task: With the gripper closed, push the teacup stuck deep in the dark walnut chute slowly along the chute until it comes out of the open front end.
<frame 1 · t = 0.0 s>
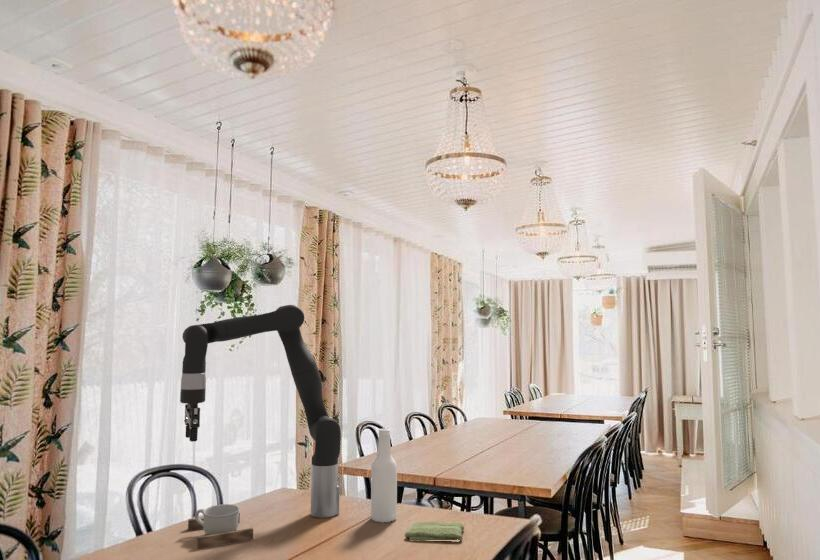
hand: (191, 439, 182), 29 cm above the table, tool pointing down, fingers open, 8 cm apart
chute: (219, 534, 179), on the table
alcohol: (383, 519, 195), on the table
teacup: (216, 535, 179), on the table
washcloth: (435, 537, 179), on the table
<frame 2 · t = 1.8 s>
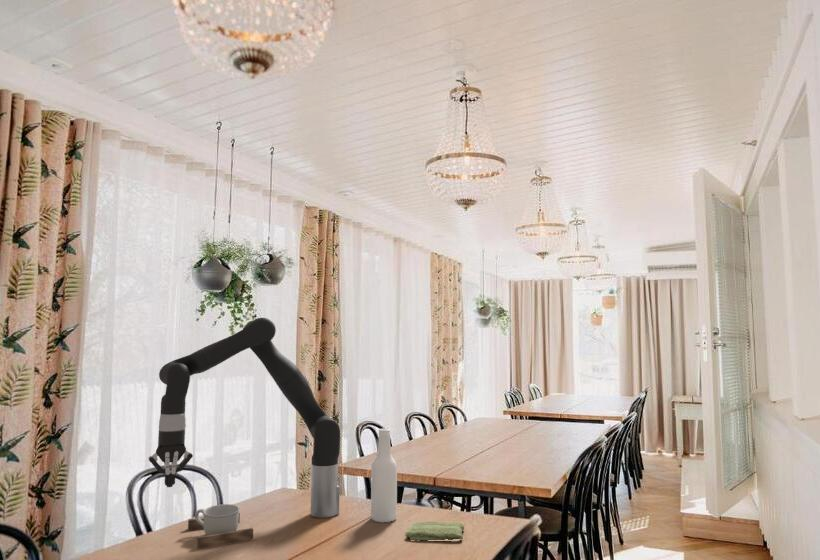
hand: (169, 486, 174), 16 cm above the table, tool pointing down, fingers closed
nothing on the table moved.
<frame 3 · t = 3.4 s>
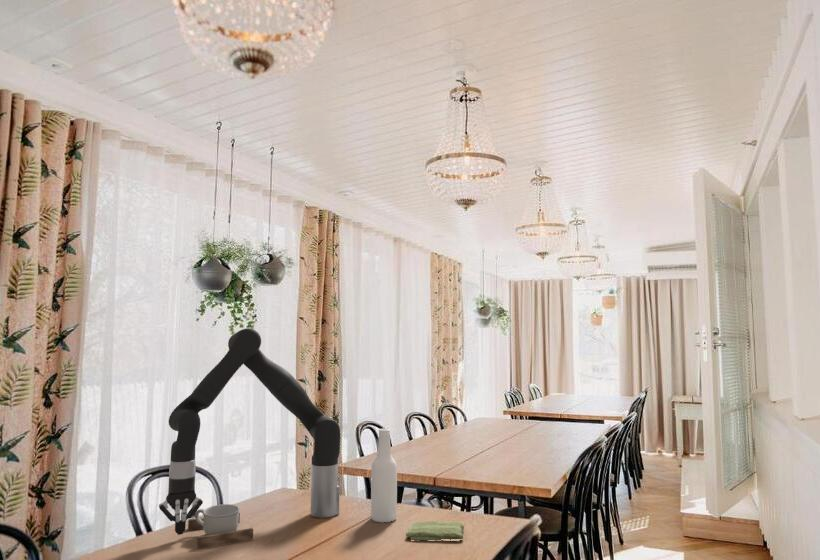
hand: (179, 533, 174), 2 cm above the table, tool pointing down, fingers closed
nothing on the table moved.
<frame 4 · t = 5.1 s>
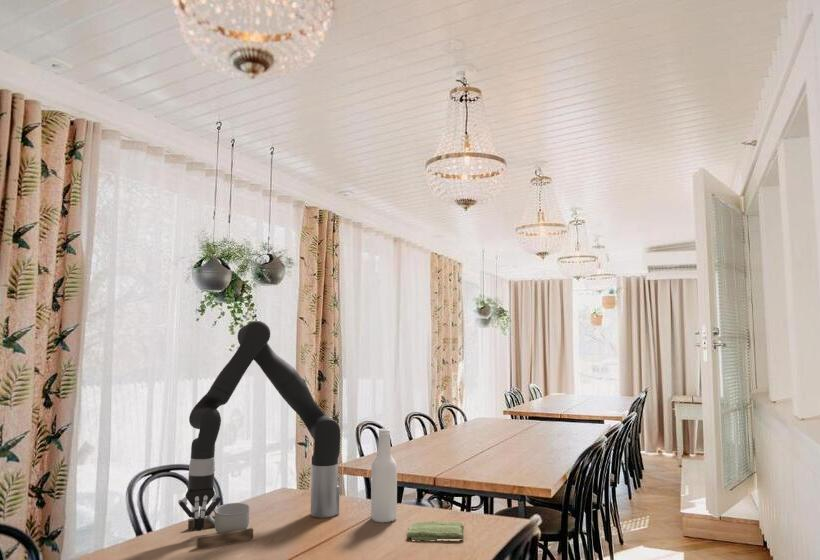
hand: (198, 530, 176), 2 cm above the table, tool pointing down, fingers closed
teacup: (227, 533, 180), on the table, touching hand
everything else where it was.
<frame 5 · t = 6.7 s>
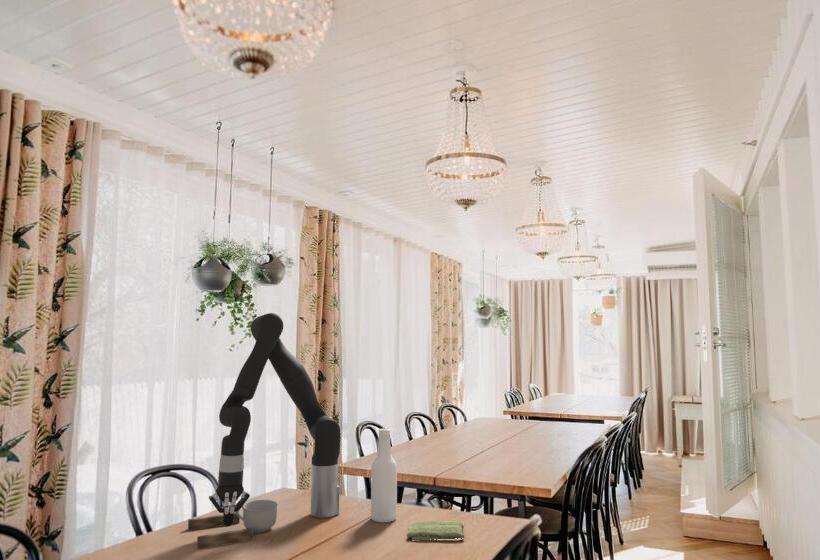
hand: (227, 525, 180), 2 cm above the table, tool pointing down, fingers closed
teacup: (255, 529, 184), on the table, touching hand
everything else where it was.
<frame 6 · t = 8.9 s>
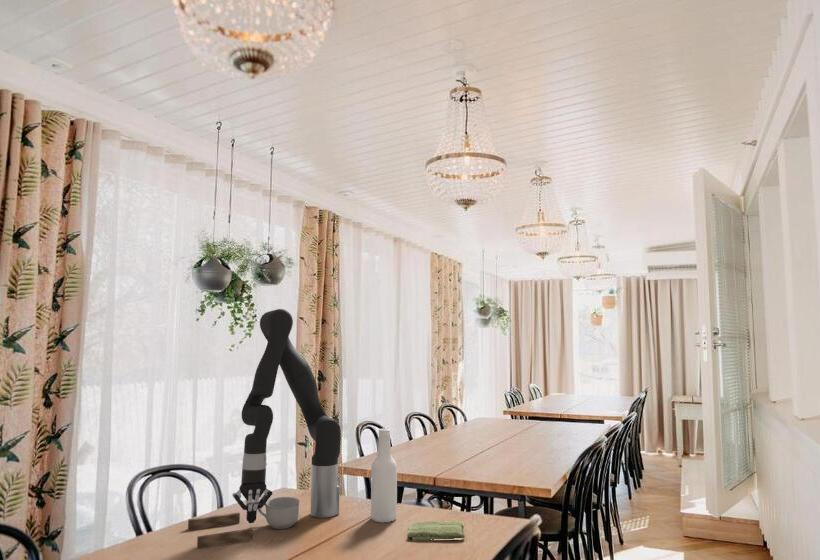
hand: (250, 522, 184), 2 cm above the table, tool pointing down, fingers closed
teacup: (277, 526, 188), on the table, touching hand
everything else where it was.
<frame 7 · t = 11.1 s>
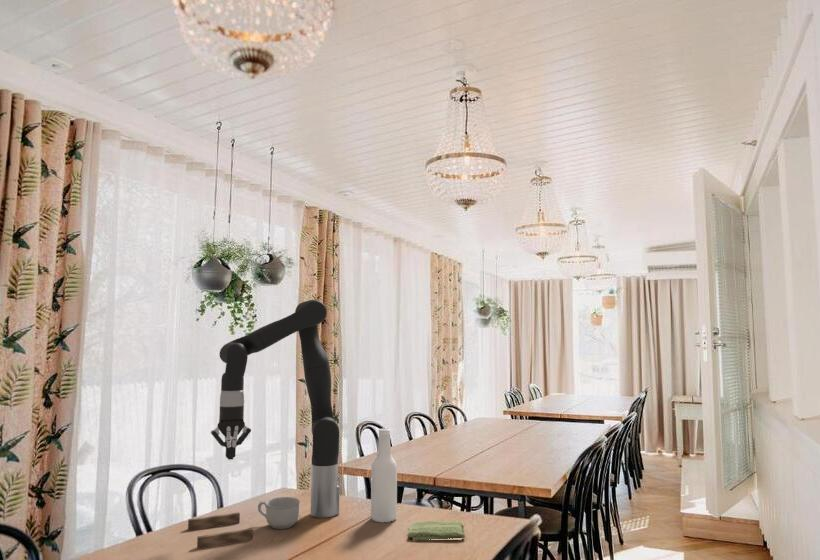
hand: (230, 459, 184), 22 cm above the table, tool pointing down, fingers closed
teacup: (278, 526, 188), on the table
everything else where it was.
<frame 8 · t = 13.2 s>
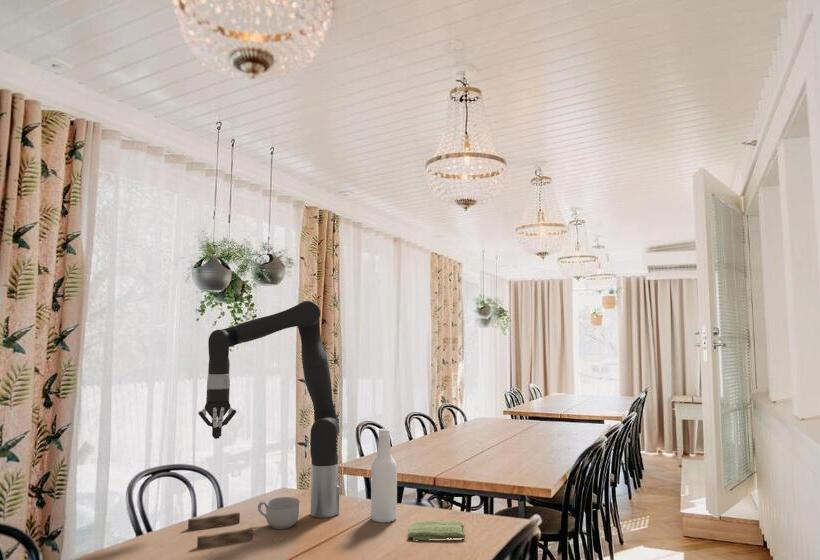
hand: (216, 438, 197), 27 cm above the table, tool pointing down, fingers closed
nothing on the table moved.
at the end: teacup inside the target area (3.5 cm from its centre), on the table; teacup tilted 0°; teacup moved 19.5 cm from its start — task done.
